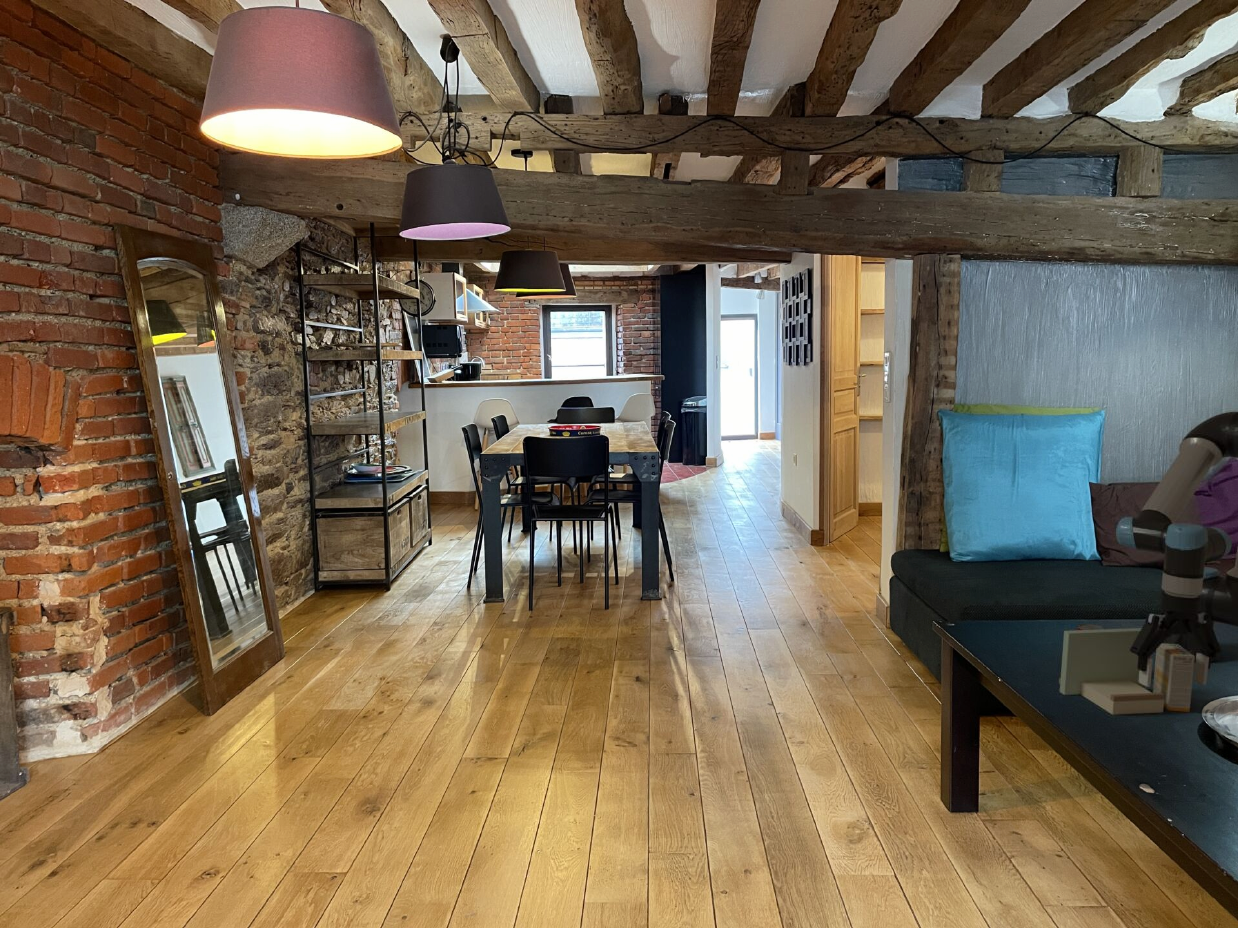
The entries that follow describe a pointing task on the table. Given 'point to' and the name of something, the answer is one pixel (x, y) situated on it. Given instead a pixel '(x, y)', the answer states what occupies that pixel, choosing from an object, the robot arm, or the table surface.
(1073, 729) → the table surface
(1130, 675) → the wall board
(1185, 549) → the robot arm
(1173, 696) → the supplement box
